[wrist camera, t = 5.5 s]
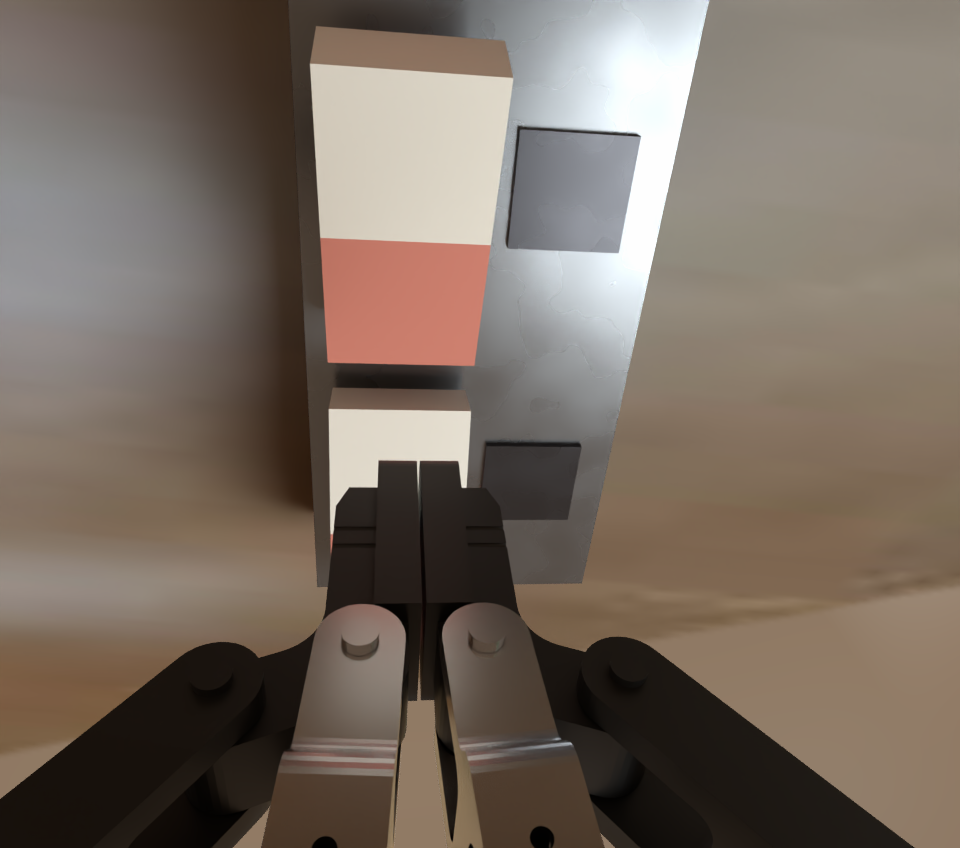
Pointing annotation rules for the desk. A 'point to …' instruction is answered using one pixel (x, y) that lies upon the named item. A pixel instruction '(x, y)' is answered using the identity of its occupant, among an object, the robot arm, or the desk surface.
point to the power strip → (530, 250)
